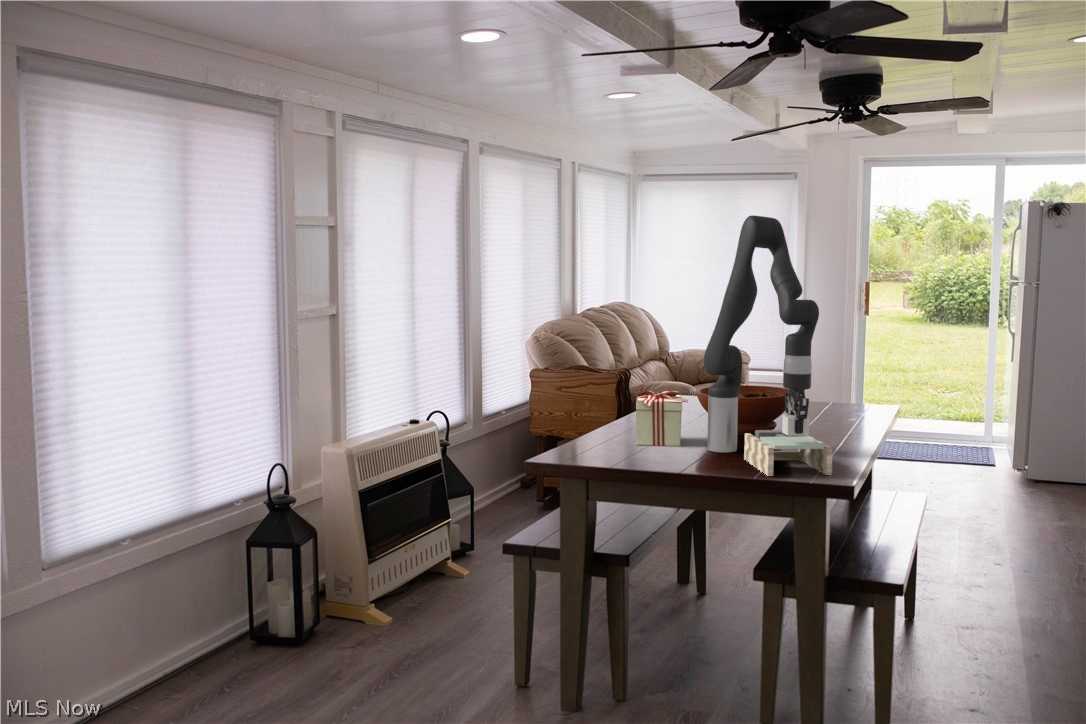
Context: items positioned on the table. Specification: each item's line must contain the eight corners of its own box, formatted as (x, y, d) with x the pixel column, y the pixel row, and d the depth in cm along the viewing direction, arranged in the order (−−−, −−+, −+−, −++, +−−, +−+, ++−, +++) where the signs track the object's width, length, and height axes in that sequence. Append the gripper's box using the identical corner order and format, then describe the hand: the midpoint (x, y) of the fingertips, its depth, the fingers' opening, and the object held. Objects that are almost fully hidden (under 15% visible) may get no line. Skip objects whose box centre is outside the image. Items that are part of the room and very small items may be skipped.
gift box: (636, 447, 304) (637, 394, 302) (632, 437, 322) (633, 387, 320) (689, 448, 303) (690, 395, 301) (683, 438, 321) (684, 387, 320)
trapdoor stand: (744, 459, 285) (744, 433, 284) (802, 459, 286) (803, 432, 285) (767, 476, 261) (768, 448, 260) (831, 476, 262) (832, 447, 261)
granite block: (782, 432, 267) (782, 414, 267) (802, 432, 268) (803, 414, 267) (787, 435, 262) (788, 417, 262) (808, 435, 263) (809, 417, 262)
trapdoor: (751, 443, 284) (751, 430, 284) (797, 443, 285) (797, 429, 284) (774, 458, 262) (774, 443, 261) (823, 457, 263) (824, 443, 262)
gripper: (819, 374, 257) (817, 436, 258) (802, 368, 271) (800, 427, 272) (792, 374, 256) (790, 436, 258) (776, 368, 270) (774, 427, 272)
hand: (795, 431), depth 265 cm, fingers closed on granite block, 5 cm apart
